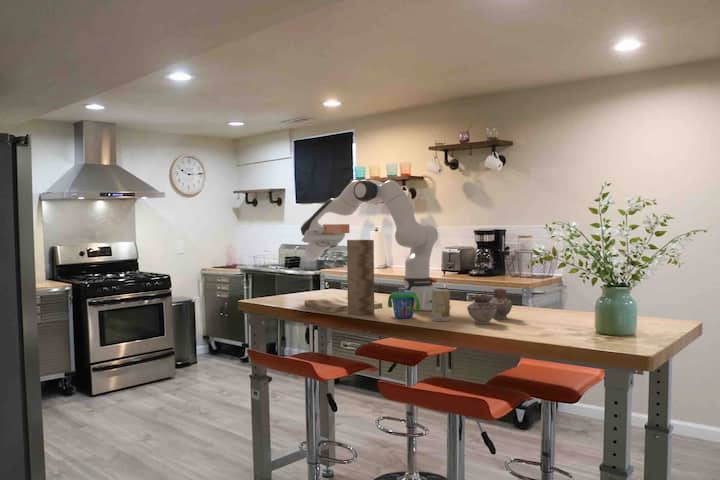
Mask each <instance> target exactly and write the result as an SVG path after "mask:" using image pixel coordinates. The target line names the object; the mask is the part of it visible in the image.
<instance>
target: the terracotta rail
mask: <svg viewBox="0 0 720 480" xmlns="http://www.w3.org/2000/svg"><path fill="white" fill-rule="evenodd" d="M322 226H325V227H326V230H325V231H323V233H345V234H350V223H349V224H348V223H347V224H346V223H343V224H341V223H339V224H337V223H335V224H334V223H333V224H332V223H331V224H327V223H325V224H322Z"/></svg>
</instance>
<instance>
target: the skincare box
mask: <svg viewBox="0 0 720 480" xmlns="http://www.w3.org/2000/svg"><path fill="white" fill-rule="evenodd" d="M450 301H451V291H450V290H447V289H438V290H432V310H431V320H432V321H434V322H445V321H446V322H450V312H451V311H450V310H451V305H450V304H451V303H450Z"/></svg>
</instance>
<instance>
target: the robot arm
mask: <svg viewBox="0 0 720 480" xmlns="http://www.w3.org/2000/svg"><path fill="white" fill-rule="evenodd" d="M362 203H370V204H384V206H385V207H386V209H387V210H388V212H389V214H390V216H391V218H392V219H393V222H394V225H395V229H396V231H395V233H394V238H395V242H396V243H397V244H398V245H399V246H401V247H404V248H407V249H410V251H409V254H408V256H407V257H406V259H405V263H404V264H405V265H404V267H405V268H404V269H405V270H404V275H405V276H404V280H403V281H404V282H403V285H404V292H415V293H416V296H417V297H418V299H419V303H420V309H419V310H418V311H428V312H429V311H432V290H439V289H438V288H437V287H435V286H434V285H433V283H437V282H438V279H437V278H435V277H433V278H431V277H430V261H431V255H432V252H433V247H434V246H435V244H436V242H437V240H438V239H439V232H438V229H437V227H435V226H434V225H431V224H428V223H427V222H426V223H423V222H422V223H421V222H420V223H419V222H418V221H417V220H416V217H415V212H416V211H415V210H416V209H415V207H414V205H413V203H412V201H411V199H410V198H409V197H408V195H407V193H406V192H405V190H404V189H403V188H402V187H401V185H400V184H399V183H398V182H397V181H395V180H386V181H379V180H375V179H361V180H358V179H357V180H356V179H355V180H352V181H351V182H350V183H349V184H347V186H346V187H345V188H344V189H343V190H342V192H341V193H340V194H339V195H338V196H337V197H335V198H332V197H331V198H329V199H328V200H327V201H326V202H324V204H322V206H320V207H319V208H318V210H316V211H315V212H314V213H313V215H311V216H310V217H309V218H308V219H306V220H304V222H303V223H302V224H301V226H300V231H301V235H302V236H303V237H302V238H301V241H302V242H303V243H307V245H306V247H305V250H304V256H305V258H306V259H308V260H309V261H311V262H316V261H317V260H318V259H320V258H321V256H322V255H323V254H324V253H327V252H328V251H329V250H330V249H332V248H337V247H338V246H339V243H341V242H342V241H344V239H345V237H346V233H323V231H325V230H326V227H325V226H323V224H321V223H320V222H319V220H320V219H322V217H323V216H325V214H328V213H333V214H336V215H339V216H345V217H346V216H351V215H353V214H354V213H355V212H357V210H358V209H359V207H360V206H361V204H362ZM415 307H416V302H415V303H414V311H416V310H415Z"/></svg>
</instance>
